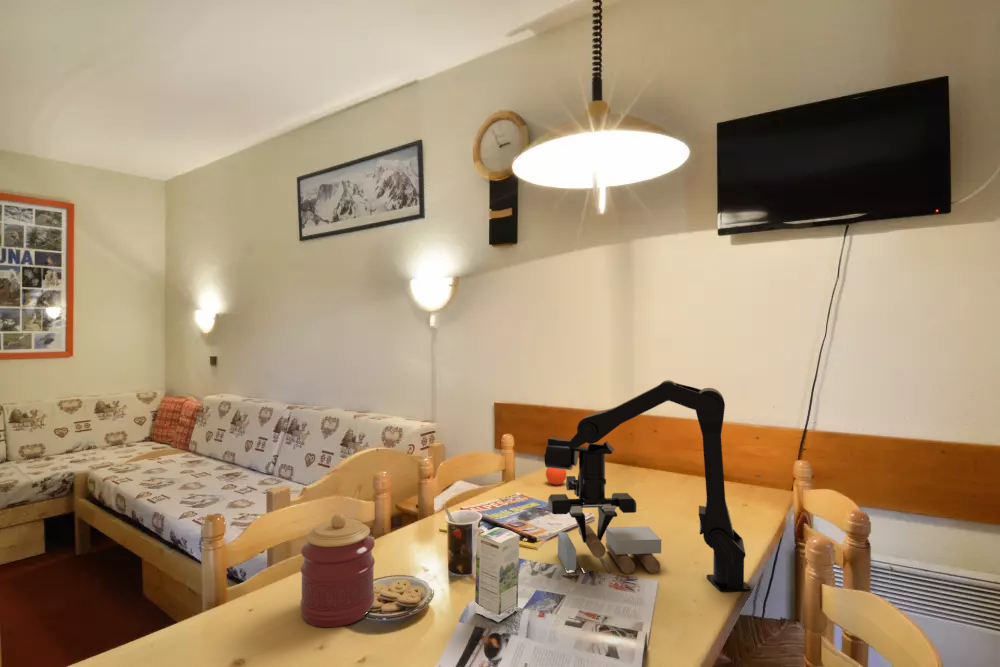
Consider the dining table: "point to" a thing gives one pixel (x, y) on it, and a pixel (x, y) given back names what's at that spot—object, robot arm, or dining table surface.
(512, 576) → the syrup box
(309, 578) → the canister
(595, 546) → the roller
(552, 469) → the clementine
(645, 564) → the roller track
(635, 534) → the slab
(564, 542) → the bar
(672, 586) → the dining table surface
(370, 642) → the dining table surface
